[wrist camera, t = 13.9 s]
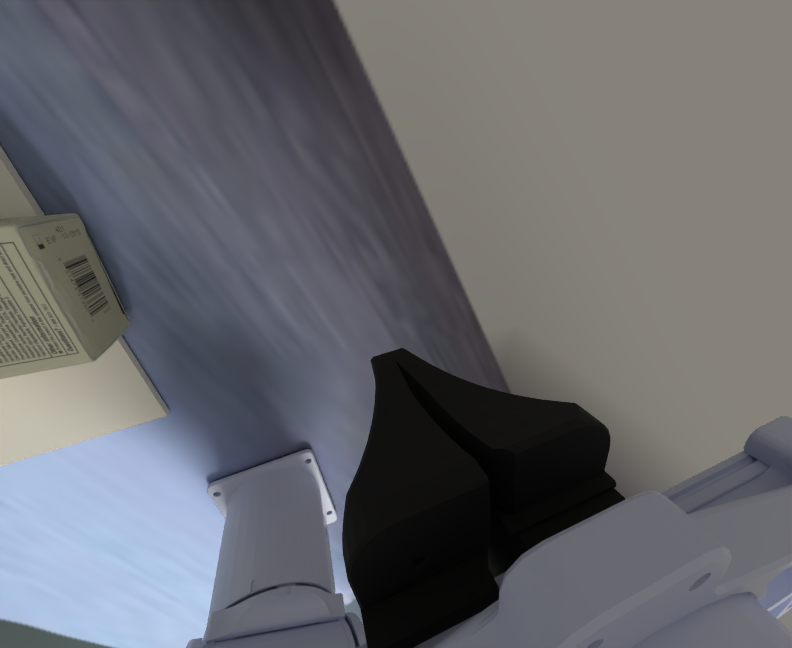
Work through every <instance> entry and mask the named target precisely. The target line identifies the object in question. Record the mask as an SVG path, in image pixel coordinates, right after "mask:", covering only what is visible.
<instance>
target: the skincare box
mask: <svg viewBox="0 0 792 648" xmlns="http://www.w3.org/2000/svg"><path fill="white" fill-rule="evenodd" d="M130 326H131V323H130V321H129V318H128V316H127V314H126V312H125V310H124V308H123V306H122V304H121V302H120V300H119V297H118V295H117V293H116V291H115V289H114V287H113V285H112V283H111V281H110V279H109V276H108V274H107V272H106V270H105V268H104V266H103V264H102V262H101V260H100V258H99V256H98V254H97V252H96V250H95V248H94V246H93V244H92V242H91V239H90V237H89V235H88V233H87V231H86V229H85V226H84V224H83V222H82V220H81V219H80V217H79V216H78V215H77V214H75V213H67V214H55V215H42V216H29V217H16V218H3V219H0V379H4V378H9V377H15V376H20V375H26V374H31V373H36V372H41V371H47V370H52V369H58V368H63V367H69V366H74V365H79V364H85V363H90V362H94V361H96V360H97V359H98V358H99V357H100V356H101V355H102V354H103V353H104V352H105V351H106V350H107V349H108V348H110V347H111V346H112V345H113V344H114V343H115V341H117V339H118V338H119V337H120V336H121V335H122V334H123V333H124V332H125V331H126V330H127V329H128V328H129V327H130Z"/></svg>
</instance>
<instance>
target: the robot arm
mask: <svg viewBox="0 0 792 648" xmlns="http://www.w3.org/2000/svg"><path fill="white" fill-rule="evenodd" d="M371 364H372V368H373V372H374V377H375V385H376V392H375V406H374V413H373V419H372V425H371V429H370V433H369V437H368V441H367V445H366V448H365V451H364V454H363V456H362V459H361V462H360V465H359V468H358V470H357V473H356V475H355V477H354V479H353V482H352V484H351V486H350V488H349V490H348V493H347V495H346V502H345V510H344V519H343V533H342V543H343V556H344V561H345V567H346V573H347V578H348V582H349V584H350V586H351V588H352V591H353V593H354V595H355V597H356V600H357V602H358V604H359V606H360V608H361V613H362V620H363V624H362V622H361V621H360V619H359V617H358V616H357V615H356V614H354V613H352V612H348V613H345V609H344V602H343V595H342V594H341V593H339V594H335V583H334V575H333V567H332V559H331V551H330V543H329V535H328V527H327V525H328V524H330V523H332V522H334V521H336V520H337V513H336V511H335V508H334V506H333V503H332V500H331V498H330V495H329V493H328V490H327V488H326V485H325V483H324V480H323V477H322V475H321V472H320V470H319V467H318V465H317V462H316V459H315V457H314V454H313V452H312V450H310V449H305V450H302V451H299V452H296V453H294V454H291V455H288V456H285V457H282V458H279V459H277V460H274V461H271V462H268V463H265V464H262V465H260V466H257V467H254V468H251V469H248V470H245V471H243V472H240V473H237V474H234V475H231V476H228V477H226V478H223V479H220V480H217V481H214V482H212V483H210V484H209V485H208V488H207V492H208V494H209V495H210V497H211V498H212V500H213V501H214V503H215V504H216V506H217V507H218V509H219V510H220V512H221V513H222V515H223V516H224V518H225V525H224V530H223V536H222V542H221V548H220V554H219V559H218V565H217V571H216V577H215V582H214V588H213V594H212V600H211V605H210V611H209V617H208V623H207V628H206V631H205V634H204V637H203V641H202V638H199V639H192V640H190V641H189V643H188V645H187V647H186V648H792V632H791V631H790V630H789V629H788V628H787V627H785V625H783V624H782V623H781V622H780V621H779V620H778V618H779V617H780V616H782V615H783V614H784V613H786V612H787V611H788V610H789V609H791V608H792V418H790V417H788V416H781V417H779V418H777V419H775V420H773V421H771V422H769V423H767V424H765V425H763V426H761V427H759V428H758V429H756V430H755V431H754V432H753V433H752V434H751V435H750V436H749V438H748V439H747V441H746V443H745V446H744V451H742V452H740V453H738V454H736V455H734V456H732V457H730V458H728V459H727V460H725V461H722V462H721V463H718V464H717V465H715V466H713V467H711V468H709V469H707V470H705V471H703V472H701V473H699V474H697V475H695V476H693V477H691V478H689V479H687V480H685V481H683V482H681V483H679V484H677V485H675V486H673V487H671V488H669V489H667V490H665V491H663V492H661V493H658V492H652V491H647V492H644V493H641V494H638V495H635V496H632V497H630V498H628V499H625V498H624V497H623V496H622V495H621V494H620V493H619V492H617V490H615V489H614V487H616V482H615V480H614V479H613V478H612V477H611V476H609V475H608V474H607V473H606V472H605V471H604V469H605V465H606V461H607V457H608V452H609V448H610V434H609V431H608V429H607V428H606V427H605V425H604V424H602V423H601V422H600V421H599V420H597V419H596V418H595V417H593V416H592V415H591V414H589V413H588V412H587V411H585V410H584V409H583V408H581V407H580V406H579V405H577V404H575V403H569V402H559V401H550V400H541V399H535V398H529V397H523V396H518V395H513V394H509V393H504V392H501V391H497V390H493V389H489V388H486V387H483V386H480V385H477V384H474V383H471V382H468V381H465V380H463V379H460V378H458V377H456V376H454V375H451V374H449V373H447V372H445V371H443V370H441V369H439V368H437V367H435V366H433V365H431V364H429V363H427V362H426V361H424V360H422V359H421V358H419V357H417V356H415V355H414V354H412V353H410V352H409V351H407V350H405V349H404V348H401V349H397V350H394V351H391V352H388V353H385V354H381V355H378V356H375V357H373V358H372V359H371ZM307 459H309V460H307ZM363 625H364V626H363Z"/></svg>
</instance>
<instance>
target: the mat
mask: <svg viewBox="0 0 792 648" xmlns="http://www.w3.org/2000/svg"><path fill="white" fill-rule="evenodd" d="M42 215H44V213H43V212H42V210H41V209H40V207H39V205H38V204H37V202H36V201H35V199H34V198H33V196H32V194H31V193H30V191H29V190H28V188H27V187H26V185H25V183H24V182H23V180H22V179H21V177H20V176H19V174H18V173H17V171H16V169H15V168H14V166H13V165H12V163H11V162H10V160H9V158H8V157H7V155H6V154H5V152H4V151H3V149H2V147H1V146H0V219H3V218H16V217H29V216H42ZM168 413H169V409H168V408H167V406H166V405H165V403H164V402H163V400H162V398H161V397H160V395H159V394H158V392H157V391H156V389H155V387H154V386H153V384H152V383H151V381H150V380H149V378H148V376H147V375H146V373H145V372H144V370H143V369H142V367H141V365H140V364H139V362H138V361H137V359H136V358H135V356H134V354H133V353H132V351H131V350H130V348H129V347H128V345H127V343H126V342H125V340H124V339H123V337H122V336H120V337H119V338H118V339H117V341H115V343H114V344H113V345H112V346H111V347H110V348H108V349H107V350H106V351H105V352H104V353H103V354H102V355H101V356H100V357H99V358H98V359H97V360H96V361H94V362H90V363H85V364H79V365H74V366H69V367H63V368H58V369H52V370H47V371H41V372H36V373H31V374H26V375H20V376H15V377H9V378H4V379H0V466H3V465H6V464H10V463H13V462H16V461H20V460H23V459H26V458H29V457H33V456H36V455H39V454H43V453H46V452H49V451H53V450H56V449H59V448H63V447H66V446H69V445H73V444H76V443H79V442H82V441H86V440H89V439H92V438H96V437H99V436H102V435H106V434H109V433H112V432H116V431H119V430H122V429H126V428H129V427H132V426H136V425H139V424H142V423H145V422H149V421H152V420H155V419H159V418H162V417H165V416H167V415H168Z"/></svg>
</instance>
